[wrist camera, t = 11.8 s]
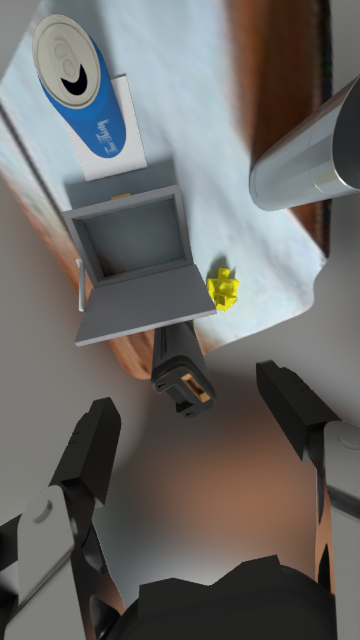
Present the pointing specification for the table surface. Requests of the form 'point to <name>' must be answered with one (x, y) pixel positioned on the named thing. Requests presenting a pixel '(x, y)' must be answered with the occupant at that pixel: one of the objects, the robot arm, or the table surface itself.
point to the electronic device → (181, 369)
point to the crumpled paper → (223, 289)
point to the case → (136, 278)
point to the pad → (132, 150)
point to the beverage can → (78, 84)
